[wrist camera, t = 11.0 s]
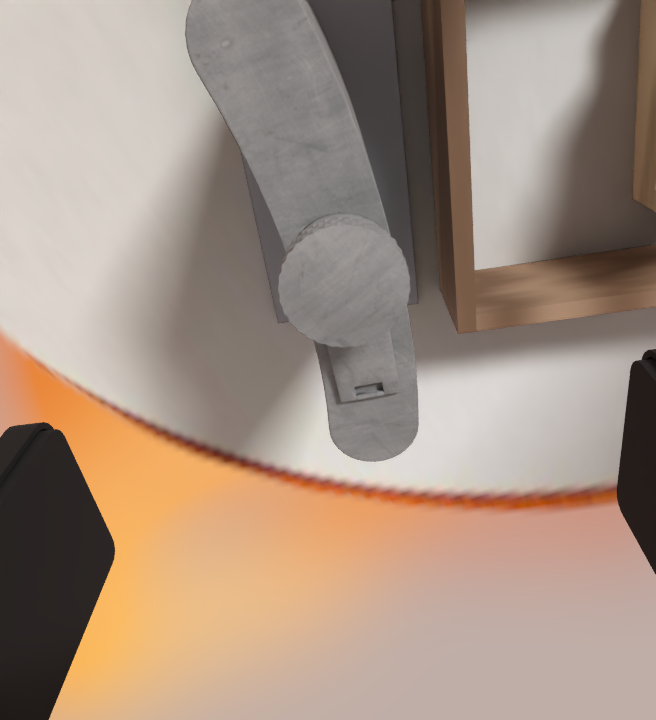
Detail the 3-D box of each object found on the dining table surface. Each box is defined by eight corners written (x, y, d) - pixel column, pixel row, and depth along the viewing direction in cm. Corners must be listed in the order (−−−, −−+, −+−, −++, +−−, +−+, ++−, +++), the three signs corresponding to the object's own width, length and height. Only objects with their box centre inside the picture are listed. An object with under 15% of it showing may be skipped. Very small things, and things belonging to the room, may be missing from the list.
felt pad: (383, -80, 29) (383, -81, 28) (417, 300, 39) (418, 303, 38) (199, -45, 29) (197, -46, 29) (278, 320, 39) (278, 323, 39)
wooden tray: (820, -205, 27) (940, -257, 21) (735, 248, 37) (802, 286, 32) (412, -125, 28) (431, -157, 23) (440, 290, 38) (458, 333, 33)
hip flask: (245, 2, 30) (137, -13, 13) (323, -26, 30) (321, -82, 12) (336, 286, 38) (345, 519, 20) (399, 268, 37) (464, 492, 20)
